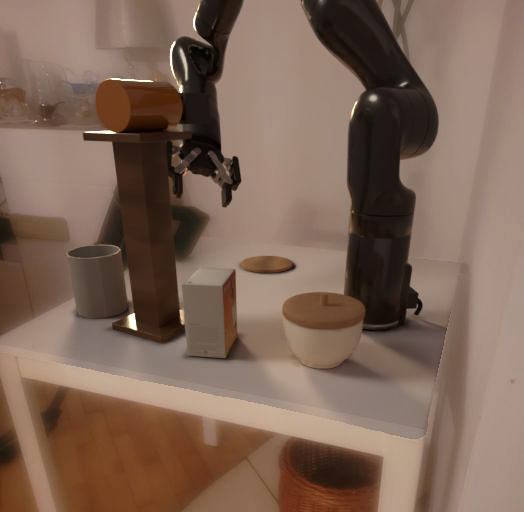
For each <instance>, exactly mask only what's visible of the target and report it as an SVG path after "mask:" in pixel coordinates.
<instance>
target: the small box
mask: <svg viewBox="0 0 524 512" xmlns="http://www.w3.org/2000/svg"><path fill="white" fill-rule="evenodd" d="M236 271H237V270H236V268H225V267H224V268H223V267H205V266H204V267H203V266H199V267H197V268H196V270H195V271H194V272H193V273H192V274H191V276H189V277H188V278H187V280H185V281H184V282H183V283H181V294H182V296H181V297H182V307H183V310H184V321H185V330H184V332H185V344H186V354H187V356H189V357H203V358H216V359H217V358H219V359H226V358H227V356H228V354H229V351H230V349H231V348H232V346H233V344H234V343H235V340H236V339H237V337H238V312H237V311H238V310H237V309H238V307H237V272H236Z"/></svg>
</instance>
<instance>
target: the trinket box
mask: <svg viewBox="0 0 524 512" xmlns="http://www.w3.org/2000/svg"><path fill="white" fill-rule="evenodd" d="M281 306H282V307H281V308H282V309H281V310H282V311H281V312H282V326H283V335H284V338H285V342H286V344H287V347H288V348H289V350H290V352H291V353H292V354H293V356H295V357H296V358H297V359H298V361H299V362H300V364H302V365H304V366H306V367H309V368H312V369H319V370H328V369H333V368H337V367H339V366H340V365H342V364H343V362H344V361H345V360H347V359H348V358H350V357H351V355H352V354H353V353H354V352H355V350H356V349H357V347H358V345H359V343H360V340H361V336H362V332H363V329H362V328H363V320H364V317H365V306H364V305H363V304H362V303H361V302H360V301H359V300H357V299H355V298H353V297H350V296H346V295H344V293H343V294H342V293H336V292H328V291H312V292H311V291H310V292H305V293H299V294H295V295H292V296H290V297H288V298H287V299H286V300H285V301H284V302H283V303H282V305H281Z"/></svg>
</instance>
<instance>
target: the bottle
mask: <svg viewBox="0 0 524 512" xmlns="http://www.w3.org/2000/svg"><path fill="white" fill-rule="evenodd" d="M179 93H180V92H179V90H178V89H177V88H176V87H175V86H174V85H173V84H171V83H170V82H167V81H155V80H137V79H121V78H106V79H104V80H103V81H101V82H100V84H99V85H98V86H97V89H96V91H95V98H94V99H95V100H94V103H95V105H94V106H95V110H96V114H97V117H98V119H99V121H100V124H102V125H103V127H104V128H105V129H106V130H107V131H111V132H114V133H121V132H139V131H156V130H173V129H175V128H176V127H177V126H178V125H179V124H178V123H179V121H180V119H181V116H182V115H184V101H183V97H180V95H179Z"/></svg>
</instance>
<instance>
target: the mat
mask: <svg viewBox="0 0 524 512" xmlns="http://www.w3.org/2000/svg"><path fill="white" fill-rule="evenodd" d="M241 268H243V269H244V270H246V271H249V272H253V273H261V274H271V273H272V274H273V273H282V272H286V271H289V270H290V269H292V268H293V261H292V260H291V259H289V258H287V257H284V256H283V257H282V256H279V255H256V256H251V257H247V258H245V259H243V260H242V261H241Z"/></svg>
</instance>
